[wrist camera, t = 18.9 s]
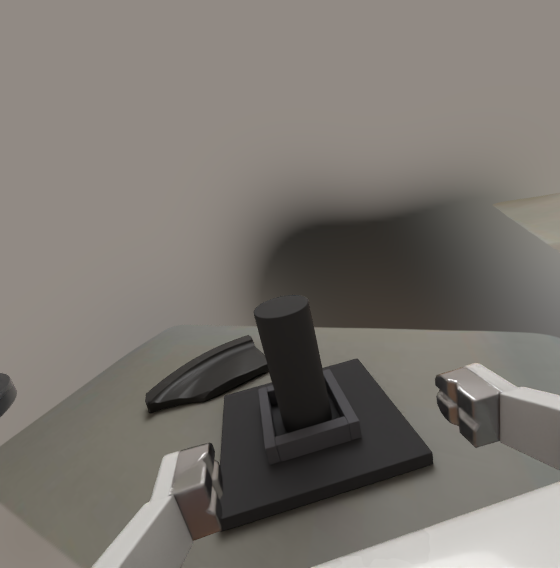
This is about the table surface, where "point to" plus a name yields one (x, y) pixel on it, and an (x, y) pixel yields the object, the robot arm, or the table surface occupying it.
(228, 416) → the base pad
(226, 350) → the dark sector wedge
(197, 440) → the table surface
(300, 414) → the dark cylindrical post
